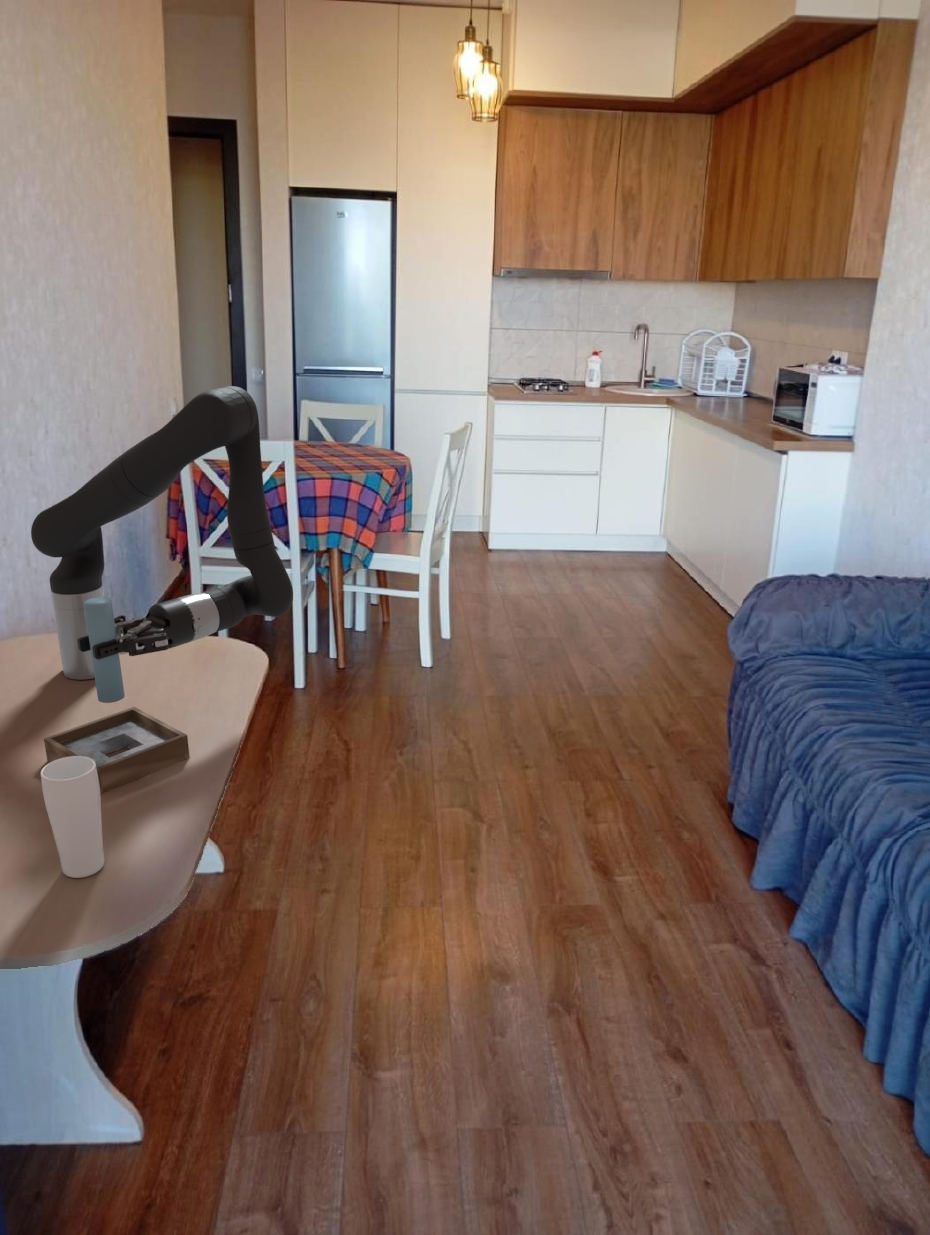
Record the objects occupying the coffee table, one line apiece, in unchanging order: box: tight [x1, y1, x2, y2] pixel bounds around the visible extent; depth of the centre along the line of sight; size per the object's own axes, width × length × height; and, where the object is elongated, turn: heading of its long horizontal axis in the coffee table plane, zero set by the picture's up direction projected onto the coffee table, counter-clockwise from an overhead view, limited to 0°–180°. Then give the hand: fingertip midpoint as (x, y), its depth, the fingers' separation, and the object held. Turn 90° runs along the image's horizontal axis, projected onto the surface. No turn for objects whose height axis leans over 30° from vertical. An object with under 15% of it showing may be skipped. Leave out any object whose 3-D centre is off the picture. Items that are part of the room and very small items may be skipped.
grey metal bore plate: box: [61, 718, 172, 767], centre depth 161 cm, size 14×14×2 cm
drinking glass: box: [40, 756, 105, 879], centre depth 130 cm, size 7×7×15 cm
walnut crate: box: [43, 706, 190, 795], centre depth 160 cm, size 16×16×4 cm
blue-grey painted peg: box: [84, 596, 126, 704], centre depth 155 cm, size 4×4×16 cm
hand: (87, 649), depth 152 cm, fingers closed on blue-grey painted peg, 4 cm apart
